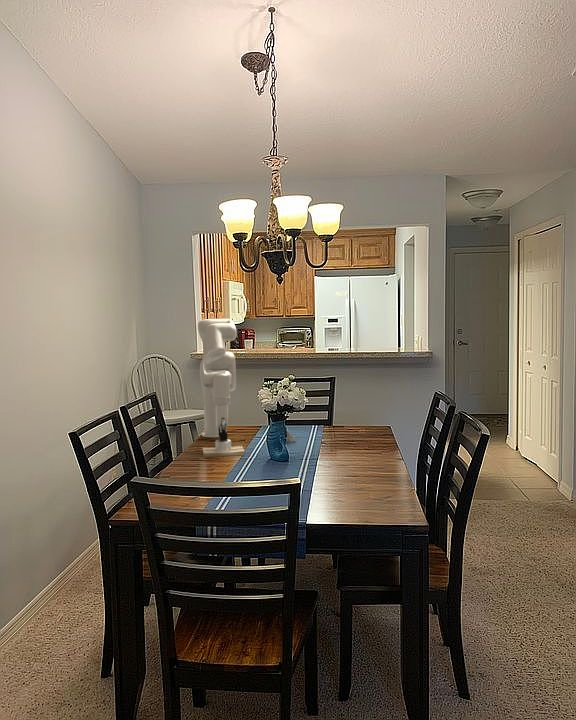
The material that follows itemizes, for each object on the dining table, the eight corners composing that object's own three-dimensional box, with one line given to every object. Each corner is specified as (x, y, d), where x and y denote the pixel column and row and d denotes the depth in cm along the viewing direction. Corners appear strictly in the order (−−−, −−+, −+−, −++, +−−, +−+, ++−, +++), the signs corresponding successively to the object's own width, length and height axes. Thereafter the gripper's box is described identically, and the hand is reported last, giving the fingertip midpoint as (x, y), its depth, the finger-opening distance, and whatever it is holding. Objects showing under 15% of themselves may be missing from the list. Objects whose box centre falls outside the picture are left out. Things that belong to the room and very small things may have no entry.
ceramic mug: (275, 444, 310) (275, 428, 309) (272, 440, 318) (272, 425, 317) (297, 443, 312) (297, 427, 311) (293, 439, 320) (293, 424, 319)
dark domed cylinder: (219, 449, 295) (219, 439, 294) (226, 448, 295) (226, 438, 295) (219, 450, 291) (219, 440, 291) (227, 450, 292) (227, 440, 291)
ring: (215, 448, 296) (214, 439, 296) (230, 447, 297) (230, 438, 297) (215, 451, 289) (215, 443, 289) (231, 451, 290) (231, 442, 290)
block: (202, 451, 298) (202, 448, 298) (242, 449, 301) (242, 445, 300) (203, 457, 286) (203, 453, 286) (244, 454, 289) (244, 451, 289)
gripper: (212, 398, 299) (213, 434, 301) (214, 404, 282) (215, 443, 284) (228, 397, 300) (229, 434, 302) (231, 403, 283) (232, 442, 285)
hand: (222, 438), depth 293 cm, fingers open, 9 cm apart
